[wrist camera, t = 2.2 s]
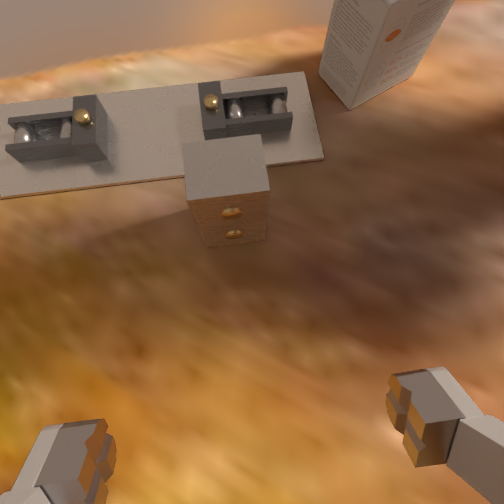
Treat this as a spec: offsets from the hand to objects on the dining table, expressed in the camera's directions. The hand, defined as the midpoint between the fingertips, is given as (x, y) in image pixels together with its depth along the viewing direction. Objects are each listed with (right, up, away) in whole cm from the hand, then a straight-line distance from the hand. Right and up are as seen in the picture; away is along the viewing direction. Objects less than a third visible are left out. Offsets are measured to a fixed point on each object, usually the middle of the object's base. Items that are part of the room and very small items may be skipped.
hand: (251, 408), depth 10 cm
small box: (+11, +22, +25) cm, 35 cm away
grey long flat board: (-9, +16, +22) cm, 29 cm away
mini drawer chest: (-2, +7, +20) cm, 21 cm away
